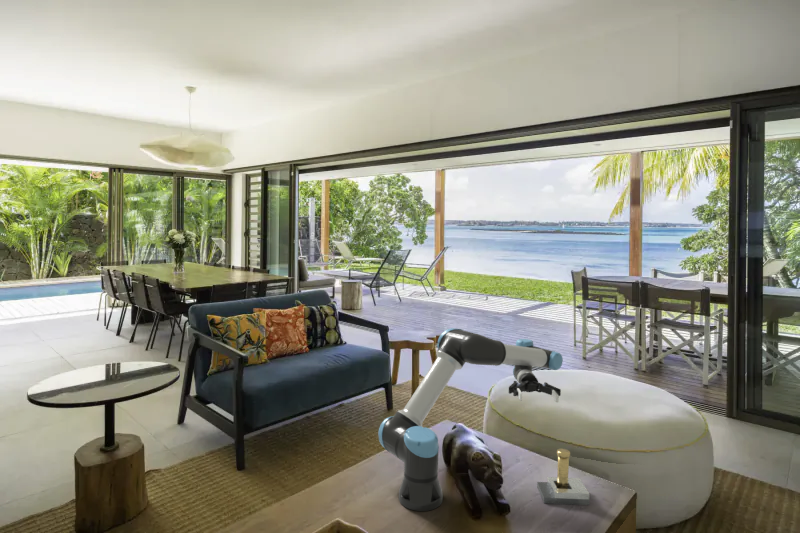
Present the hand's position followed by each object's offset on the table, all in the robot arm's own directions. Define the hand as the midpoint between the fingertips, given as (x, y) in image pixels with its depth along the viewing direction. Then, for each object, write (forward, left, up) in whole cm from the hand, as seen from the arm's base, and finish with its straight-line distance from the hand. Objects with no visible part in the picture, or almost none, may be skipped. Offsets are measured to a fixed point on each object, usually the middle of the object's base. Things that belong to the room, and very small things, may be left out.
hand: (539, 398), depth 175 cm
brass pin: (+5, -16, -29) cm, 34 cm away
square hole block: (+5, -16, -29) cm, 34 cm away
